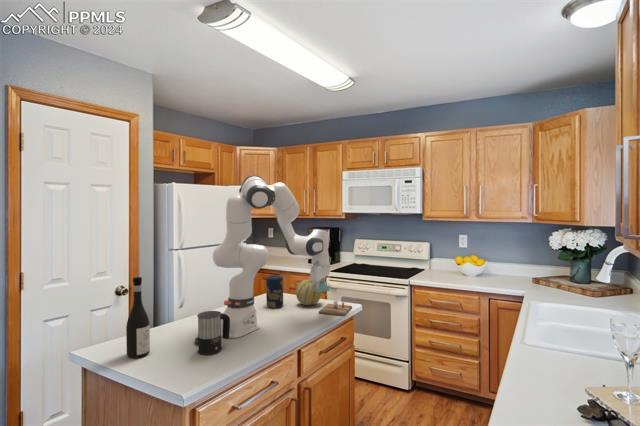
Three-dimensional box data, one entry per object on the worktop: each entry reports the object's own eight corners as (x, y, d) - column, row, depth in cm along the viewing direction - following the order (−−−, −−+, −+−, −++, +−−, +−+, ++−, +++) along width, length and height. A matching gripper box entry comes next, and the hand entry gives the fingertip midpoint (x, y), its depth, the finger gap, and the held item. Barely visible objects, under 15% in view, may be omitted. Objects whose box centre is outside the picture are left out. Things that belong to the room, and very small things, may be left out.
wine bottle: (154, 351, 146) (153, 275, 145) (141, 359, 138) (140, 280, 138) (135, 350, 148) (134, 275, 147) (122, 358, 140) (120, 279, 139)
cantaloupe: (303, 300, 223) (303, 275, 222) (325, 303, 216) (325, 277, 216) (291, 306, 209) (291, 280, 209) (314, 309, 203) (314, 282, 203)
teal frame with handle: (313, 290, 190) (313, 283, 190) (317, 288, 195) (317, 281, 195) (327, 292, 187) (327, 284, 187) (330, 289, 192) (330, 282, 192)
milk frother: (211, 357, 141) (211, 318, 141) (178, 351, 147) (178, 314, 146) (233, 344, 154) (233, 308, 154) (202, 339, 160) (202, 304, 160)
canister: (280, 309, 204) (280, 276, 204) (263, 308, 206) (263, 276, 206) (285, 304, 214) (285, 273, 213) (269, 303, 215) (269, 272, 215)
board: (344, 316, 192) (344, 306, 191) (318, 313, 196) (318, 304, 196) (351, 307, 207) (351, 299, 206) (327, 305, 211) (327, 297, 211)
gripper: (319, 263, 180) (319, 292, 180) (331, 257, 199) (331, 283, 200) (306, 263, 182) (306, 291, 183) (320, 257, 201) (320, 282, 202)
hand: (320, 286), depth 191 cm, fingers closed on teal frame with handle, 5 cm apart
